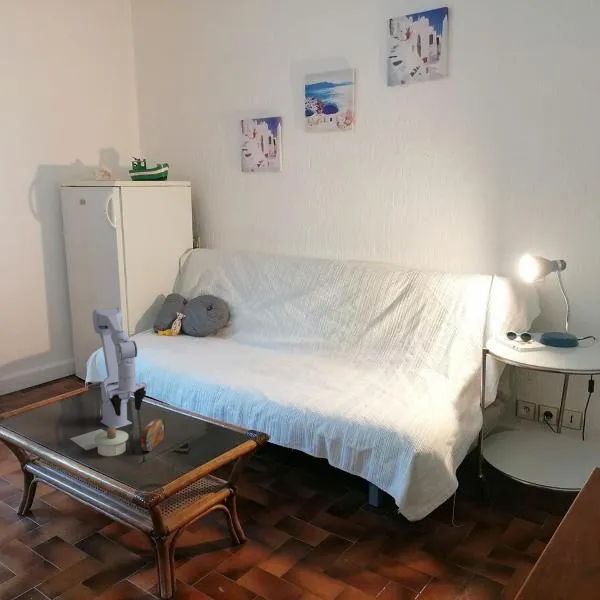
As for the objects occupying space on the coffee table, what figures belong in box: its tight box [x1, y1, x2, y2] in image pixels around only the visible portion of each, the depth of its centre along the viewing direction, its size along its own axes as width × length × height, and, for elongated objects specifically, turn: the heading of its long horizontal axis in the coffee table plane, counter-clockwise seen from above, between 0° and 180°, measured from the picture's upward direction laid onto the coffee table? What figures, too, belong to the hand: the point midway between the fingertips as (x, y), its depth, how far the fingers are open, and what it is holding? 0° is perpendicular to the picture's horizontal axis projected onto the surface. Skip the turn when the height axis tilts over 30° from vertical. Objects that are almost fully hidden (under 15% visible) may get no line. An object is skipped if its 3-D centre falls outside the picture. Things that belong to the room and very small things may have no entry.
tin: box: [139, 418, 166, 452], centre depth 206 cm, size 15×3×8 cm, turn 168°
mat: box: [69, 428, 106, 451], centre depth 209 cm, size 12×12×1 cm
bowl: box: [97, 441, 127, 457], centre depth 201 cm, size 9×9×4 cm
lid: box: [94, 426, 129, 446], centre depth 201 cm, size 11×11×4 cm
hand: (127, 412), depth 208 cm, fingers open, 7 cm apart
